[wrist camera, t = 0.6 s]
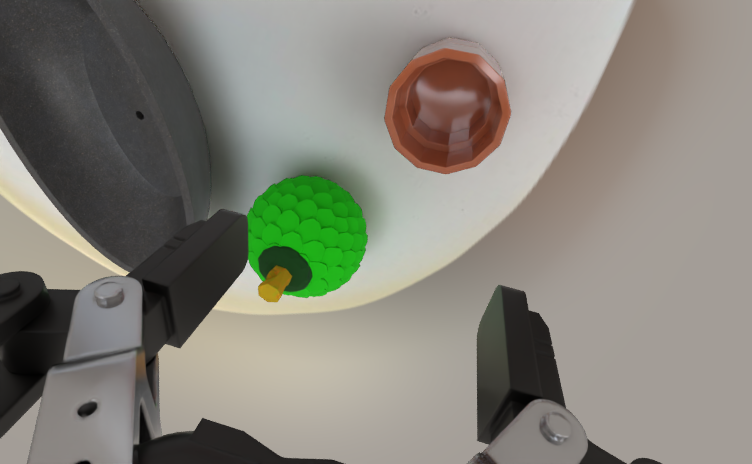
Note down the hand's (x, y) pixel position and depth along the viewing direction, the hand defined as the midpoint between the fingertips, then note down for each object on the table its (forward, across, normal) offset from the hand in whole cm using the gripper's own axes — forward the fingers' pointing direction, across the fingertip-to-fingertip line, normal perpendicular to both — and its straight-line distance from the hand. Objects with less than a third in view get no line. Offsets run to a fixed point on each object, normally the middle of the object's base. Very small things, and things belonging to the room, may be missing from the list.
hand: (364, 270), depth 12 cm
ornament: (+15, +6, +8) cm, 18 cm away
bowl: (+15, +19, +3) cm, 25 cm away
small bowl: (+15, -1, -2) cm, 15 cm away
